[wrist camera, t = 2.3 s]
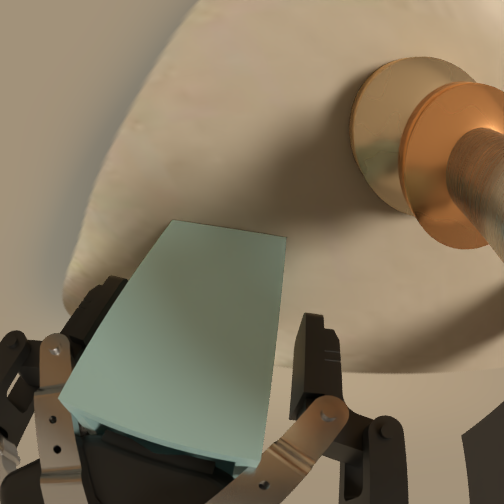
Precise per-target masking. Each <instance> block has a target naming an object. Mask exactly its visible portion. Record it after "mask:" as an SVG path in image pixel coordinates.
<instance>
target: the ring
mask: <svg viewBox="0 0 504 504" xmlns="http://www.w3.org/2000/svg"><path fill="white" fill-rule="evenodd" d="M462 442H463V448H464V454H465V461H466V468H467V476H468V486H469V498H470V504H504V402H502V403H501V404H500V405H499V406H498V407H497V408H496V409H495V410H493V411H492V412H491V413H490V414H489V415H487V416H486V417H485V418H484V419H482V420H481V421H480V422H479V423H477V424H476V425H475V426H474V427H472V428H471V429H470V430H468V431H467V432H466V433H464V434H463V435H462Z"/></svg>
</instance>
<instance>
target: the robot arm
mask: <svg viewBox="0 0 504 504" xmlns="http://www.w3.org/2000/svg"><path fill="white" fill-rule="evenodd" d="M127 283H128V280H127V279H125V278H120V277H116V276H109V277H108V279H107V280H106V281H105V283H104V284H103V285H98V286H96V287H95V288H93V289H92V290H91V291H89V293H88V294H87V295H86V297H85V298H84V299H83V301H82V302H81V304H80V305H79V308H77V309H76V311H75V312H74V313H73V315H72V316H71V318H70V319H69V321H68V322H67V323H66V325H65V326H64V328H63V329H62V331H61V332H60V333H54V334H51V335H49V336H47V337H46V338H45V339H44V340H43V341H35V340H27V338H26V337H25V335H24V333H22V332H21V331H17V330H16V331H11V332H9V333H8V334H7V335H6V336H5V337H4V338H3V339H2V341H1V342H0V502H1V504H280V503H281V502H282V501H283V500H284V499H285V498H286V497H287V496H288V495H289V494H290V493H291V492H292V491H293V489H295V488H296V487H297V485H298V484H299V483H300V482H301V481H302V480H303V479H304V477H305V476H306V475H307V474H308V473H309V472H310V470H311V469H312V467H313V465H314V464H315V463H316V462H317V460H318V459H319V458H320V457H321V456H322V455H323V456H326V457H329V458H331V459H334V460H337V461H340V485H339V504H408V478H407V463H406V452H405V441H404V433H403V428H402V425H401V424H400V422H399V421H397V420H396V419H395V418H393V417H391V416H380V417H377V418H376V419H375V420H373V419H370V418H367V417H364V416H362V415H359V414H356V413H354V412H353V411H352V410H350V409H349V408H348V407H347V405H346V404H345V402H344V399H343V395H342V373H341V363H340V361H341V357H340V343H339V339H338V337H337V335H336V333H335V331H334V330H332V329H325V328H324V318H323V315H319V314H312V313H304V315H303V318H302V321H301V324H300V327H299V330H298V334H297V337H296V341H295V347H294V359H293V375H292V390H291V402H290V414H289V420H296V422H295V423H294V424H293V425H292V426H291V427H290V428H289V429H288V430H287V432H286V433H285V434H284V435H283V436H282V437H281V438H280V439H279V440H278V441H276V442H274V443H273V444H272V445H271V446H270V447H269V448H268V449H267V450H266V451H265V452H264V453H262V455H261V461H260V463H259V464H258V466H257V468H255V467H248V468H247V469H245V470H244V471H243V472H242V473H241V474H240V475H239V476H238V477H237V478H234V477H232V476H231V475H230V474H228V473H227V472H225V471H223V470H222V469H220V468H217V467H216V463H215V461H210V460H205V459H201V458H196V457H192V456H188V455H168V454H156V453H153V452H152V451H150V450H148V449H147V448H145V447H143V446H142V445H140V444H139V443H137V442H135V441H134V440H132V439H131V438H128V437H126V436H123V435H120V434H117V433H115V432H112V431H110V430H107V429H106V430H105V432H104V434H92V435H90V434H89V433H88V431H87V430H86V429H85V428H84V427H83V426H82V425H81V424H80V423H79V422H78V420H77V418H76V417H75V416H74V415H73V414H72V413H71V412H69V411H68V410H67V409H66V408H65V406H64V405H63V404H62V403H61V402H60V401H59V399H58V397H59V395H60V393H61V391H62V389H63V388H64V386H65V384H66V382H67V380H68V378H69V377H70V375H71V373H72V371H73V370H74V368H75V366H76V364H77V363H78V361H79V359H80V357H81V356H82V354H83V352H84V351H85V349H86V347H87V345H88V344H89V342H90V340H91V339H92V337H93V336H94V334H95V332H96V331H97V329H98V327H99V326H100V324H101V323H102V321H103V319H104V318H105V316H106V315H107V313H108V312H109V310H110V308H111V307H112V305H113V304H114V302H115V301H116V299H117V298H118V296H119V295H120V293H121V292H122V290H123V289H124V287H125V286H126V284H127ZM17 373H19V375H20V377H19V378H18V380H17V382H16V383H15V385H14V387H13V389H12V390H11V392H10V394H9V395H8V397H7V390H8V388H9V387H10V385H11V383H12V381H13V380H14V378H15V377H16V375H17ZM33 413H35V424H36V435H37V443H38V451H39V457H40V458H39V459H37V460H35V461H34V462H31V463H29V464H27V465H25V466H23V467H21V468H19V469H16V466H17V465H19V464H20V457H19V456H18V453H17V446H18V444H19V442H20V440H21V437H22V435H23V433H24V431H25V429H26V427H27V425H28V423H29V421H30V419H31V417H32V415H33Z"/></svg>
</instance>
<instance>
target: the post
mask: <svg viewBox="0 0 504 504" xmlns="http://www.w3.org/2000/svg"><path fill="white" fill-rule="evenodd" d="M349 135H350V143H351V148H352V151H353V155H354V158H355V160H356V163H357V165H358V167H359V169H360V170H361V172H362V174H363V176H364V177H365V179H366V181H367V182H368V184H369V185H370V187H371V188H372V190H373V191H374V192H375V193H376V194H377V195H378V196H379V197H380V198H381V199H382V200H383V201H384V202H385V203H387V204H388V205H390V206H391V207H393V208H394V209H396V210H398V211H401V212H403V213H406V214H409V215H412V216H415V217H416V219H417V220H418V222H419V223H420V225H421V226H422V227H423V229H424V230H425V231H426V232H427V233H428V234H429V235H430V236H431V237H432V238H434V239H435V240H436V241H438V242H440V243H442V244H444V245H446V246H449V247H452V248H457V249H474V248H479V247H483V246H486V245H488V244H489V245H490V246H491V247H492V248H493V250H494V251H495V252H496V254H497V255H498V256H499V258H500V259H501V260H502V262H503V263H504V92H503V91H501V90H499V89H497V88H495V87H492V86H489V85H485V84H480V83H476V82H475V80H474V79H472V78H471V77H470V76H469V75H468V74H467V73H466V72H464V71H463V70H462V69H460V68H459V67H457V66H455V65H453V64H452V63H449V62H447V61H444V60H441V59H437V58H432V57H411V58H403V59H398V60H395V61H392V62H390V63H387V64H385V65H383V66H382V67H380V68H379V69H377V70H376V71H375V72H374V73H373V74H371V75H370V76H369V77H368V78H367V80H366V81H365V82H364V84H363V85H362V86H361V88H360V90H359V92H358V93H357V95H356V98H355V100H354V103H353V106H352V110H351V114H350V123H349Z"/></svg>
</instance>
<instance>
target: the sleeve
mask: <svg viewBox="0 0 504 504" xmlns="http://www.w3.org/2000/svg"><path fill="white" fill-rule="evenodd" d="M286 238H287V237H281V236H274V235H268V234H262V233H256V232H249V231H243V230H237V229H230V228H224V227H217V226H211V225H204V224H197V223H191V222H184V221H177V220H172V221H171V222H170V224H169V225H168V226H167V228H166V229H165V231H164V232H163V233H162V235H161V236H160V237H159V239H158V240H157V241H156V243H155V244H154V246H153V247H152V248H151V250H150V251H149V252H148V254H147V255H146V257H145V258H144V259H143V261H142V262H141V264H140V265H139V267H138V268H137V270H136V271H135V272H134V274H133V275H132V277H131V278H130V280H129V281H128V283H127V284H126V286H125V287H124V289H123V290H122V292H121V293H120V295H119V296H118V298H117V299H116V301H115V302H114V304H113V305H112V307H111V308H110V310H109V312H108V313H107V315H106V316H105V318H104V319H103V321H102V323H101V324H100V326H99V327H98V329H97V331H96V332H95V334H94V336H93V337H92V339H91V340H90V342H89V344H88V345H87V347H86V349H85V351H84V352H83V354H82V356H81V357H80V359H79V361H78V363H77V364H76V366H75V368H74V370H73V371H72V373H71V375H70V377H69V378H68V380H67V382H66V384H65V386H64V388H63V389H62V391H61V393H60V395H59V397H58V399H59V401H60V402H61V403H62V404H63V405H64V406H65V408H66V409H67V410H68V411H69V412H71V413H72V414H73V415H74V416H75V417H76V418H77V420H78V422H79V423H80V424H81V425H82V426H83V427H84V428H85V429H86V430H87V431H88V433H89V434H90V435H92V434H104V432H105V430H106V429H107V430H110V431H112V432H115V433H117V434H120V435H123V436H126V437H128V438H131V439H132V440H134V441H135V442H137V443H139V444H140V445H142V446H143V447H145V448H147V449H148V450H150V451H152V452H153V453H156V454H168V455H188V456H192V457H196V458H201V459H205V460H210V461H215V463H216V467H217V468H220V469H222V470H223V471H225V472H227V473H228V474H230V475H231V476H232V477H234V478H237V477H238V476H239V475H240V474H241V473H242V472H243V471H244V470H245V469H247V468H248V467H255V468H257V466H258V464H259V463H260V461H261V455H262V447H263V440H264V434H265V427H266V420H267V412H268V405H269V398H270V390H271V382H272V374H273V366H274V357H275V349H276V340H277V331H278V322H279V312H280V303H281V293H282V282H283V272H284V261H285V250H286Z"/></svg>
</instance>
